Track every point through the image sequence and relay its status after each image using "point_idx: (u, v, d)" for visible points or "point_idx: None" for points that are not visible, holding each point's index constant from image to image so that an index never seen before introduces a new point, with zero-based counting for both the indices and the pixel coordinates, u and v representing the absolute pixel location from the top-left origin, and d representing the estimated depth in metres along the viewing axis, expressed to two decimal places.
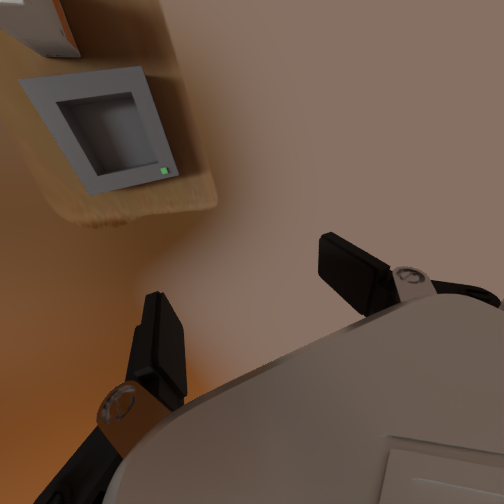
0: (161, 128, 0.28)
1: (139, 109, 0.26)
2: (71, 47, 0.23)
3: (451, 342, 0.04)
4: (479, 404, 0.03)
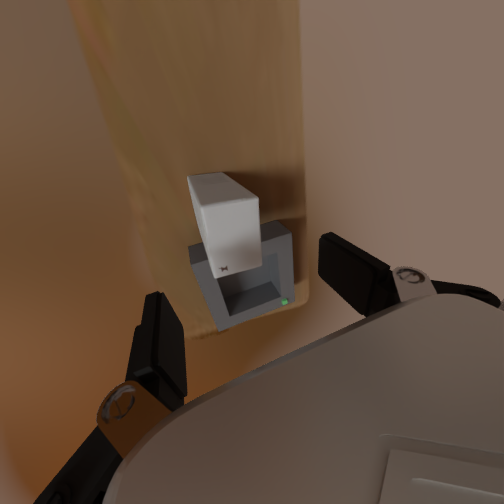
0: (292, 272, 0.29)
1: (279, 263, 0.27)
2: None
3: (451, 342, 0.04)
4: (479, 404, 0.03)
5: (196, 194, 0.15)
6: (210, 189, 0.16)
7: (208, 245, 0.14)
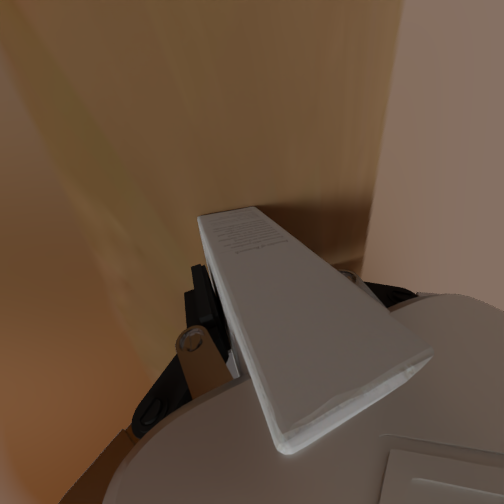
0: None
1: None
2: None
3: (451, 342, 0.04)
4: (479, 404, 0.03)
5: (235, 308, 0.06)
6: (262, 279, 0.07)
7: None
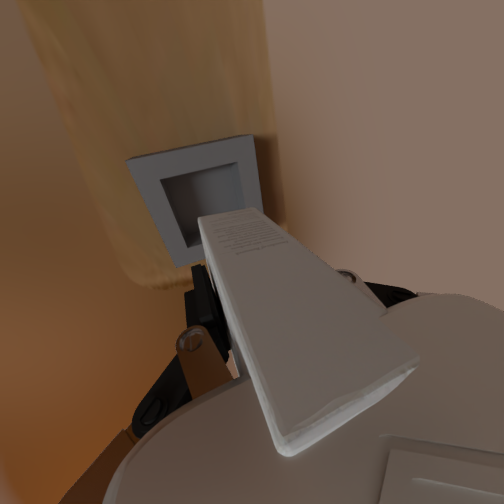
0: (259, 195, 0.25)
1: (242, 178, 0.23)
2: None
3: (451, 342, 0.04)
4: (479, 404, 0.03)
5: (235, 309, 0.06)
6: (262, 280, 0.07)
7: None
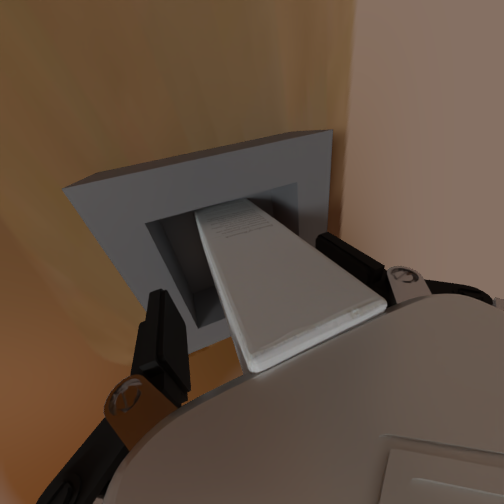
0: None
1: (300, 211, 0.12)
2: None
3: (451, 342, 0.04)
4: (479, 404, 0.03)
5: (222, 278, 0.07)
6: (246, 256, 0.08)
7: None
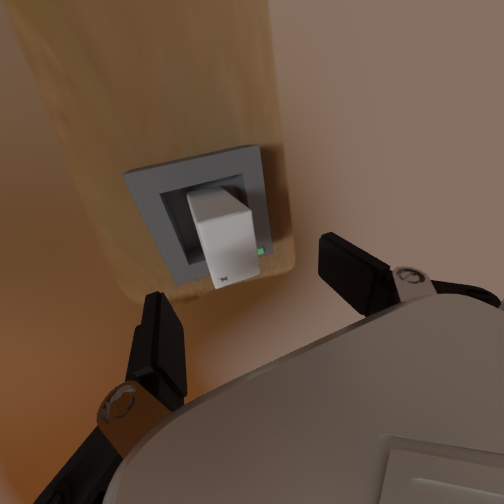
0: (266, 207, 0.23)
1: (247, 191, 0.21)
2: None
3: (451, 342, 0.04)
4: (479, 404, 0.03)
5: (194, 210, 0.16)
6: (207, 204, 0.17)
7: (207, 258, 0.15)
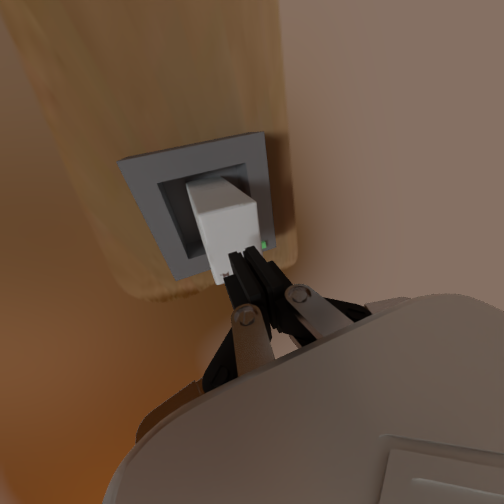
0: (269, 200, 0.22)
1: (250, 181, 0.20)
2: None
3: (451, 342, 0.04)
4: (479, 404, 0.03)
5: (194, 201, 0.15)
6: (208, 195, 0.16)
7: (208, 252, 0.14)
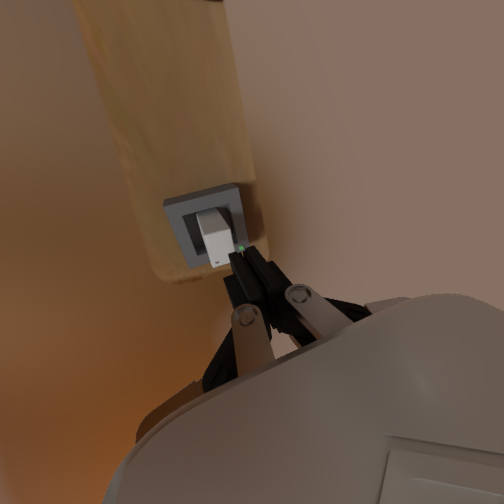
0: (244, 221, 0.38)
1: (232, 212, 0.36)
2: None
3: (451, 342, 0.04)
4: (479, 404, 0.03)
5: (201, 227, 0.31)
6: (208, 223, 0.32)
7: (208, 251, 0.30)
